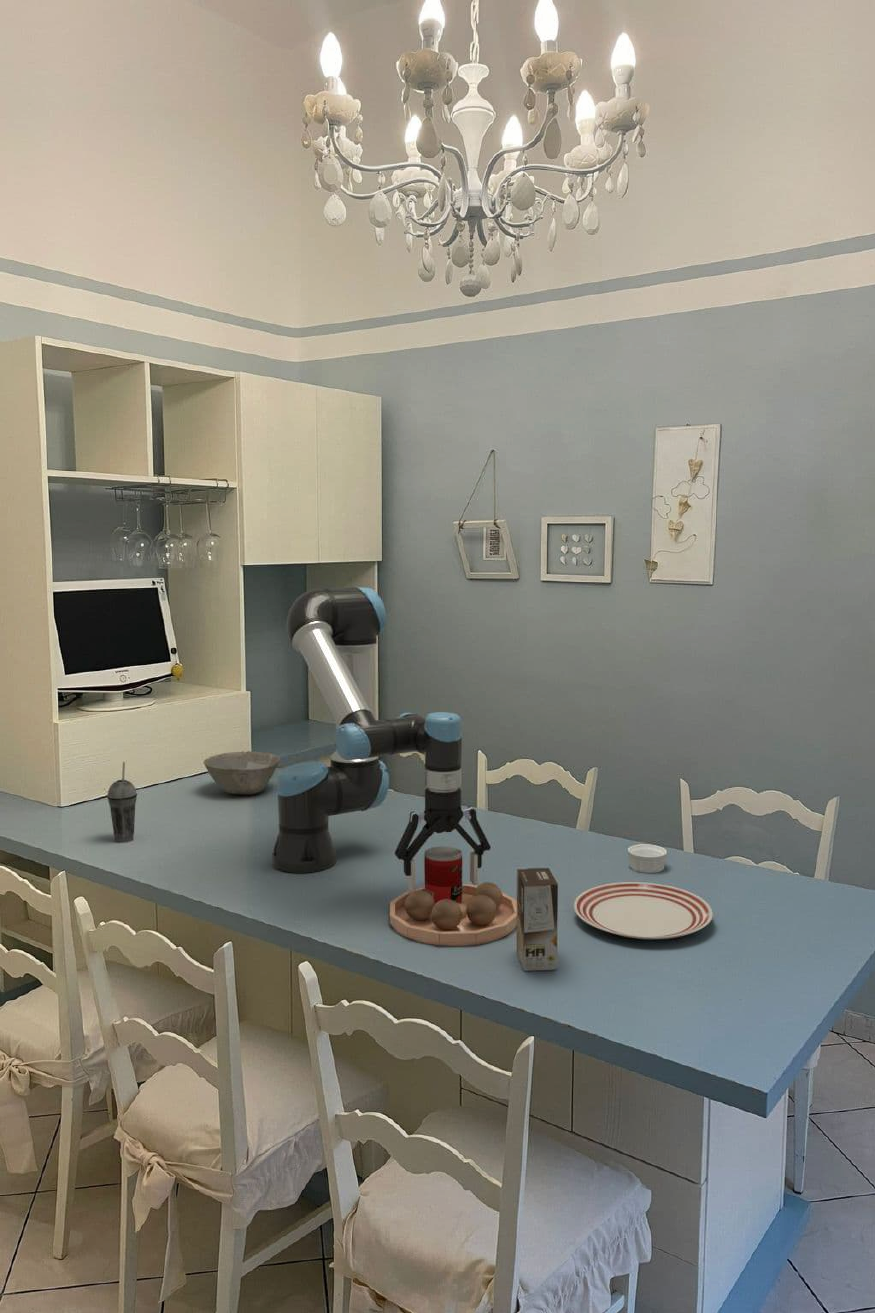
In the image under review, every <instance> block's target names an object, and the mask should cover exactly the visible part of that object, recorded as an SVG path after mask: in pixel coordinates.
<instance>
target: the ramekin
mask: <svg viewBox="0 0 875 1313" xmlns="http://www.w3.org/2000/svg"><path fill="white" fill-rule="evenodd" d="M667 852H668V851H667V849H666V848H664V847H662V846H659V845H655V844H649V843H641V844H640V843H639V844H633V845H631V846H630V847H628V848H627V853H628V861H629V862H628V863H629V868H630V869H631V870H633V871H635V872H638V873H644V874H656V873H659V872H663V871H664V869H665V866H666V857H667Z"/></svg>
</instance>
